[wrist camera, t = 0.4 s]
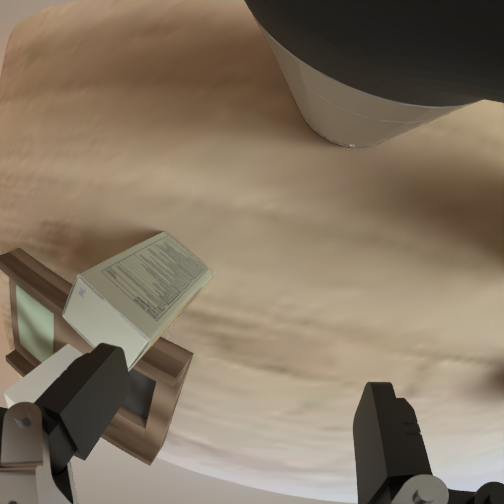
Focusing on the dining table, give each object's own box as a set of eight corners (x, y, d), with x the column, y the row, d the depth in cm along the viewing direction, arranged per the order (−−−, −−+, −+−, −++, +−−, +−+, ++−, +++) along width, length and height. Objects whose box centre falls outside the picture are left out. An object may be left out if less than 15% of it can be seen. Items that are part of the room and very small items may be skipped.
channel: (19, 248, 34) (-5, 256, 30) (193, 353, 31) (175, 378, 27) (23, 349, 40) (6, 361, 36) (163, 444, 37) (150, 465, 33)
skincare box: (143, 263, 30) (57, 313, 18) (164, 229, 28) (73, 269, 17) (193, 306, 30) (124, 379, 18) (217, 274, 28) (150, 342, 17)
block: (68, 343, 33) (3, 392, 22) (95, 361, 33) (31, 418, 21) (68, 367, 35) (10, 416, 23) (94, 385, 34) (37, 440, 23)
